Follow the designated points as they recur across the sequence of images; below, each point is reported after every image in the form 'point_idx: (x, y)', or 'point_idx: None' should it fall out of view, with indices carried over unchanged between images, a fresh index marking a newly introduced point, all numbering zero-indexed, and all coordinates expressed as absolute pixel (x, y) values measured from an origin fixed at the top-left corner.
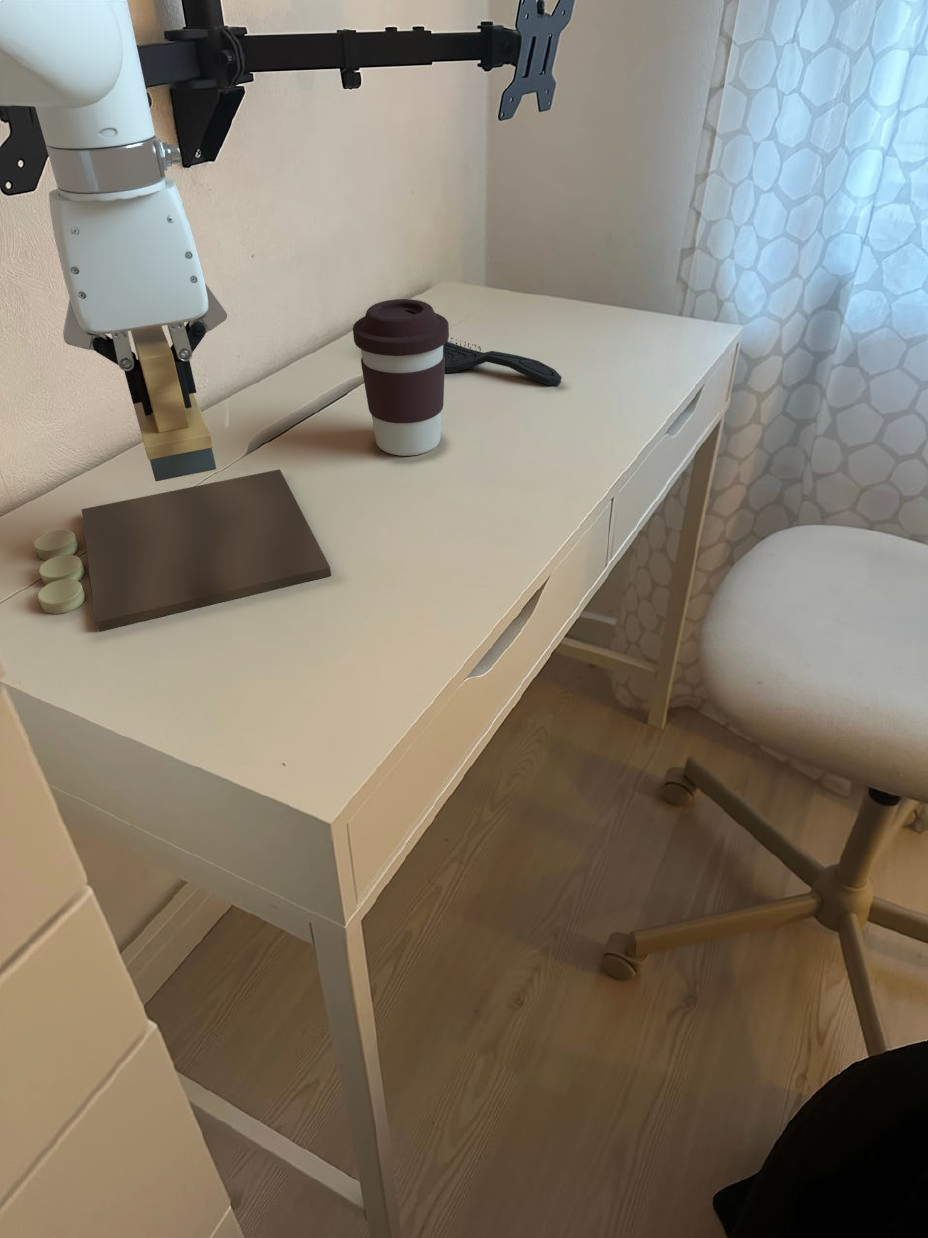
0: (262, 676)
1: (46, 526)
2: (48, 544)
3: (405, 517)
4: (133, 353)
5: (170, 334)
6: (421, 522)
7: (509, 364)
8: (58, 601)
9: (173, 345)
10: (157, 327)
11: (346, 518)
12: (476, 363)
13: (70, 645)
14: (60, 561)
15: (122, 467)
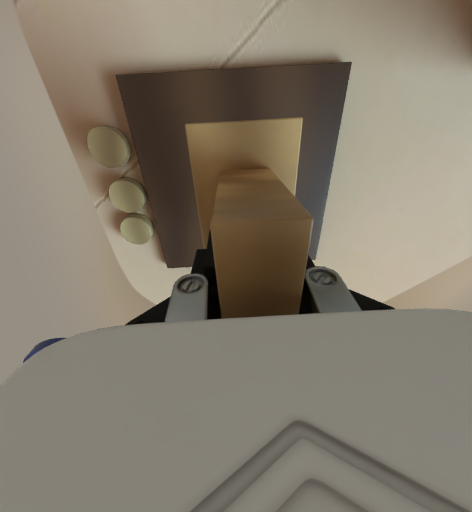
0: None
1: (80, 81)
2: (103, 155)
3: (398, 203)
4: (215, 302)
5: (311, 309)
6: (402, 214)
7: None
8: (138, 243)
9: (303, 300)
10: (293, 268)
11: (359, 187)
12: None
13: (154, 269)
14: (124, 190)
15: None
